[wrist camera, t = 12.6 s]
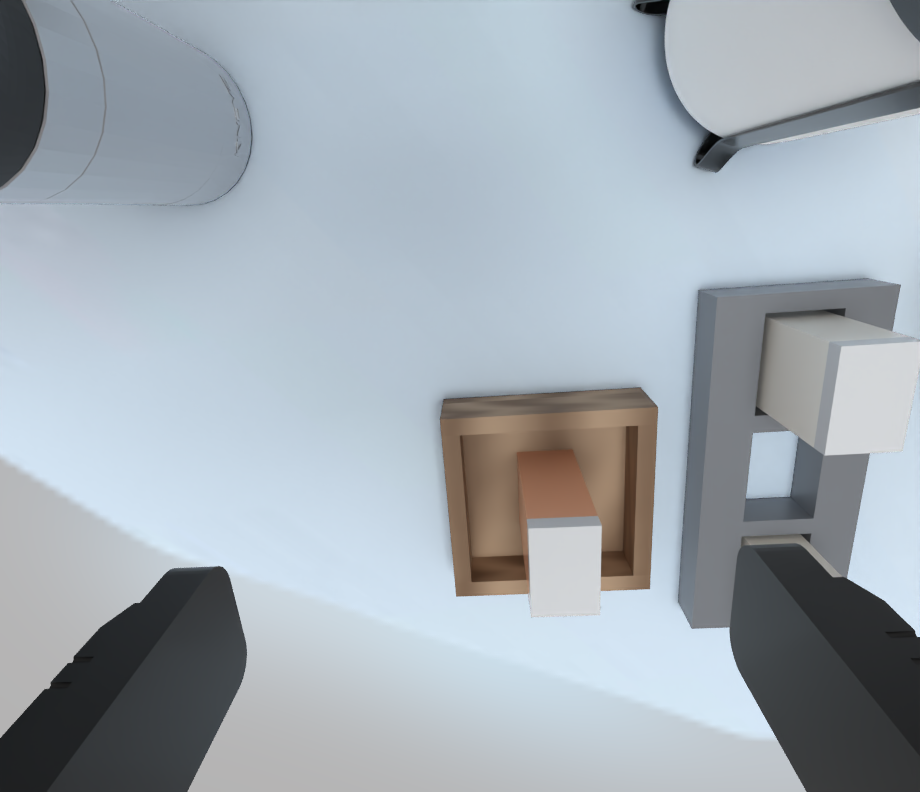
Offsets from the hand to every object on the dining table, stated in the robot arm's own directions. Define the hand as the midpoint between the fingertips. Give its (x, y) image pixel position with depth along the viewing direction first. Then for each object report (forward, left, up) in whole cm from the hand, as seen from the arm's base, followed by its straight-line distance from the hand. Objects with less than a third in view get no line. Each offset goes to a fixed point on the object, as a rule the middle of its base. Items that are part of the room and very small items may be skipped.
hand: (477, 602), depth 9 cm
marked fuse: (+4, -14, -29) cm, 33 cm away
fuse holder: (+20, -13, -30) cm, 38 cm away
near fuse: (+20, -5, -30) cm, 36 cm away
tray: (+4, -14, -30) cm, 33 cm away
